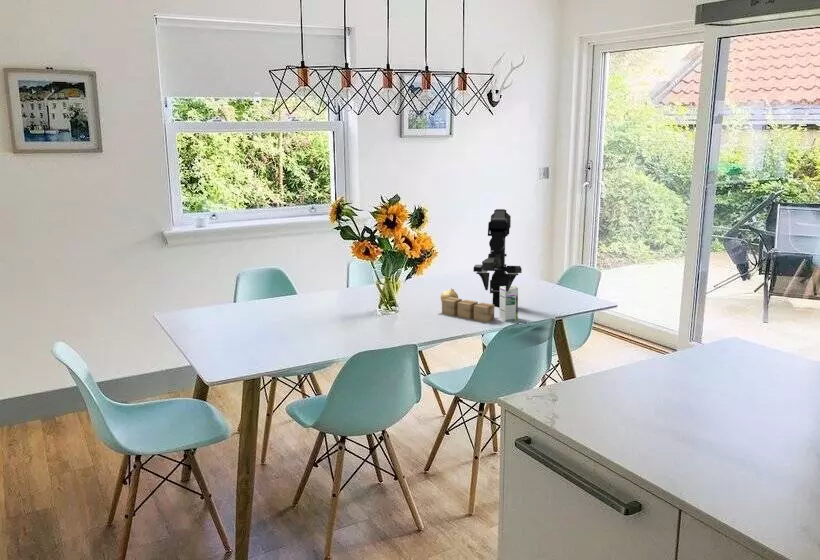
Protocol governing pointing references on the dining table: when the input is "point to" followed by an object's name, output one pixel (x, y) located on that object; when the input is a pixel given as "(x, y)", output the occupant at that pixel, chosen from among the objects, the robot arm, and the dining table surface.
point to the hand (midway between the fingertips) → (496, 290)
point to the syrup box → (509, 303)
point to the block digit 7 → (484, 312)
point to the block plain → (466, 309)
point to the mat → (466, 318)
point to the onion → (449, 294)
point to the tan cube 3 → (450, 306)
